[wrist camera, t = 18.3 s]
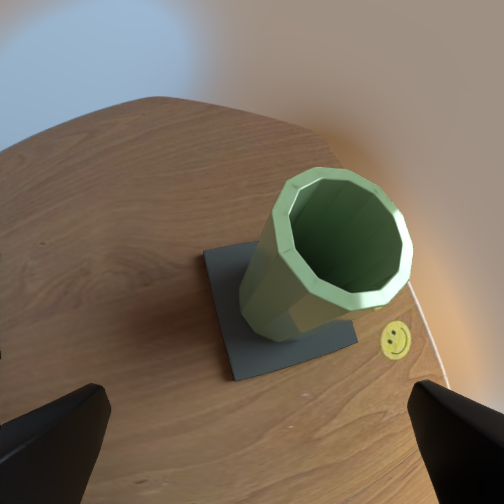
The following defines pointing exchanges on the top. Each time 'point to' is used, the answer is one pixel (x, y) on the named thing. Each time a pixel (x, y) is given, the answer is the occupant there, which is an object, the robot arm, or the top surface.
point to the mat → (242, 335)
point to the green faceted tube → (325, 256)
